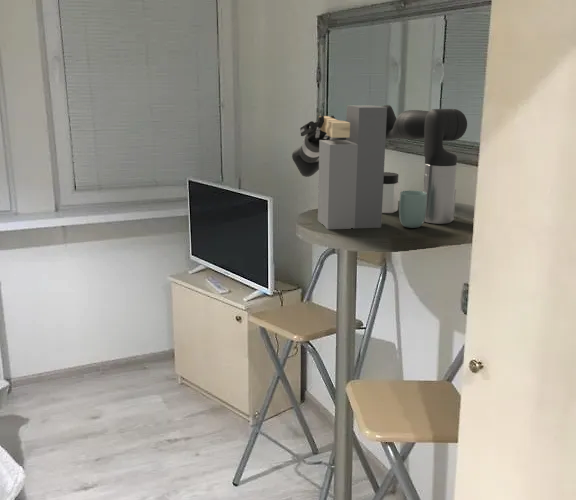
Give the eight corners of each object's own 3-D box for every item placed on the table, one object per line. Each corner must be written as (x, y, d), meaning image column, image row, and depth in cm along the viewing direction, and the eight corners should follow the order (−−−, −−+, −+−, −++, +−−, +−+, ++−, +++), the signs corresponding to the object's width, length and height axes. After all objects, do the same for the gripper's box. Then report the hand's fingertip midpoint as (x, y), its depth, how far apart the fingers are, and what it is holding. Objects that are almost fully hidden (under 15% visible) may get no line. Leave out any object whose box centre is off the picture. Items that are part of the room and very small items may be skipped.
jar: (377, 206, 217) (379, 171, 214) (400, 209, 213) (402, 173, 210) (366, 211, 210) (368, 174, 207) (390, 214, 206) (392, 176, 203)
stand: (317, 220, 197) (320, 105, 188) (368, 218, 200) (373, 105, 191) (327, 229, 185) (330, 107, 176) (381, 227, 188) (387, 107, 179)
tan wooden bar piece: (314, 129, 200) (315, 116, 199) (330, 129, 201) (330, 115, 199) (332, 137, 180) (332, 122, 179) (349, 137, 181) (350, 122, 180)
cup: (425, 230, 186) (427, 195, 183) (397, 228, 187) (399, 194, 184) (425, 224, 193) (427, 191, 190) (398, 222, 194) (400, 189, 192)
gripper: (337, 152, 210) (351, 129, 194) (295, 153, 208) (306, 130, 191) (335, 131, 212) (349, 106, 195) (293, 131, 209) (303, 106, 193)
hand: (327, 118), depth 193 cm, fingers closed on tan wooden bar piece, 2 cm apart
